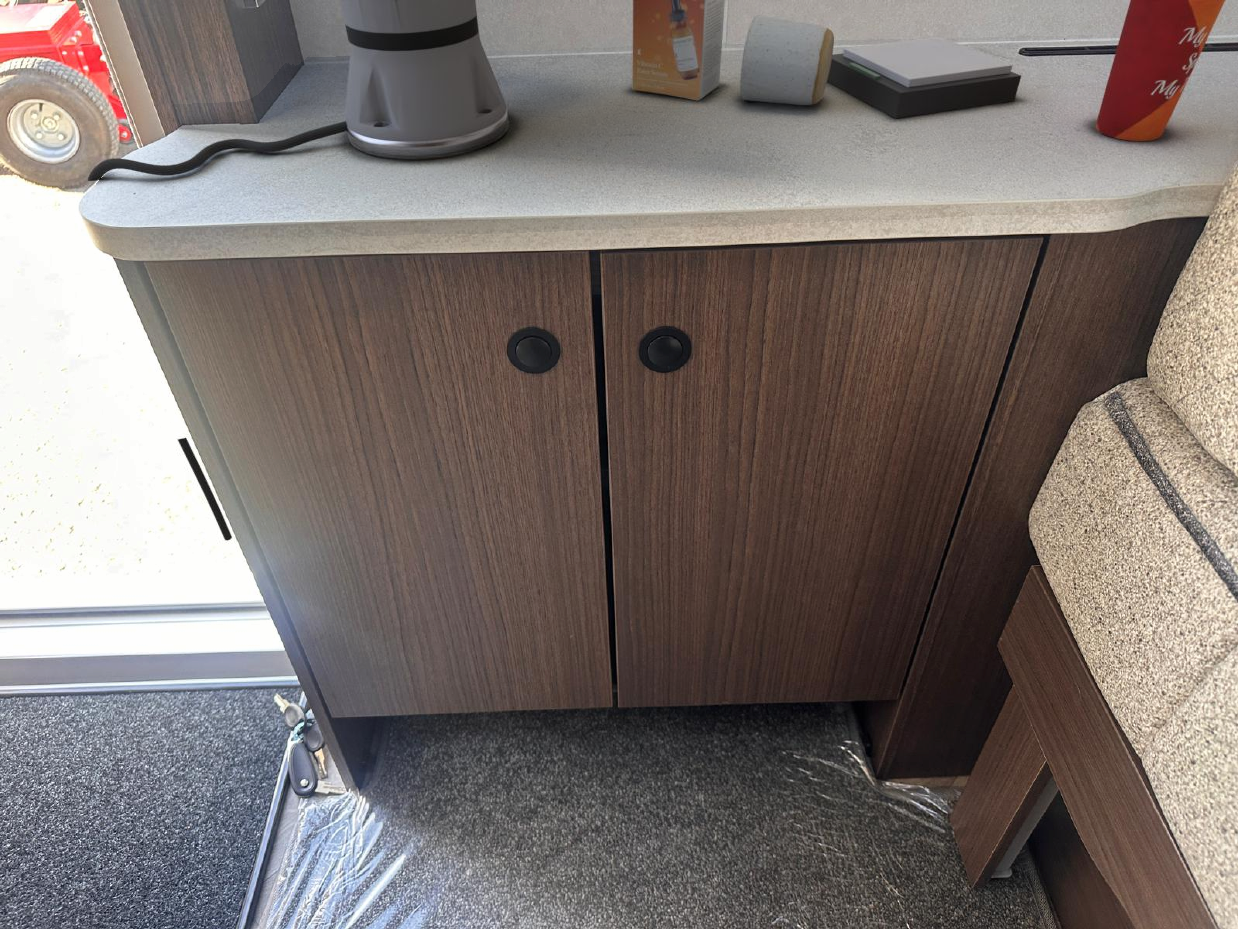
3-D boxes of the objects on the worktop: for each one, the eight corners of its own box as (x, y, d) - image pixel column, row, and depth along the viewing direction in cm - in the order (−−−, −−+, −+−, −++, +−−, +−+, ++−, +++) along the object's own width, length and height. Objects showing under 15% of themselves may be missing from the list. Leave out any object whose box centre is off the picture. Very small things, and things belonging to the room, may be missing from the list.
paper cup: (1170, 150, 73) (1244, -32, 64) (1076, 136, 77) (1134, -40, 67) (1179, 124, 78) (1249, -49, 69) (1090, 111, 82) (1147, -56, 72)
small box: (631, 91, 89) (630, -21, 82) (653, 77, 93) (654, -32, 86) (700, 101, 86) (705, -15, 79) (720, 86, 90) (727, -26, 83)
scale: (895, 118, 81) (902, 83, 79) (822, 78, 91) (826, 47, 89) (1014, 100, 84) (1024, 66, 82) (931, 64, 95) (937, 33, 92)
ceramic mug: (818, 116, 82) (830, 29, 77) (736, 109, 84) (742, 24, 79) (831, 86, 90) (842, 5, 85) (755, 80, 92) (762, 1, 87)
